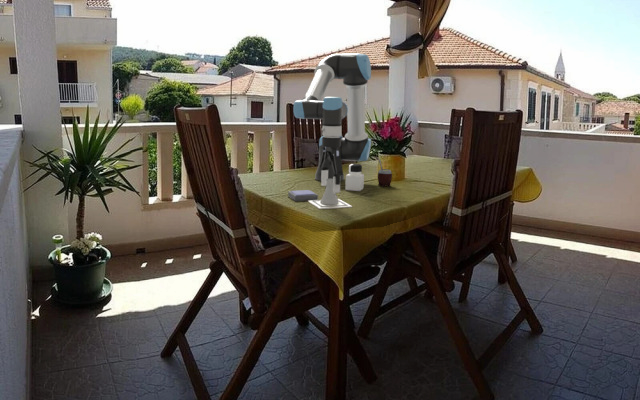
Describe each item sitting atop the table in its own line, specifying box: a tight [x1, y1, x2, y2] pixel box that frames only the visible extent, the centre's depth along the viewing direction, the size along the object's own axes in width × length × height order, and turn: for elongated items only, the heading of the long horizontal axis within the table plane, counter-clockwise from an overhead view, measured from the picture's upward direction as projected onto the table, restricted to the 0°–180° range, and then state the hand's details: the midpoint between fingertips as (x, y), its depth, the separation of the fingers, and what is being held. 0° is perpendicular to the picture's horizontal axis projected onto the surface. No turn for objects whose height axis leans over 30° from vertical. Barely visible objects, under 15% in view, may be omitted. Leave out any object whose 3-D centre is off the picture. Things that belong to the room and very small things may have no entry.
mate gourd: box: [376, 156, 393, 188], centre depth 242 cm, size 8×8×15 cm
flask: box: [320, 179, 339, 205], centre depth 199 cm, size 7×7×10 cm
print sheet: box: [307, 198, 353, 210], centre depth 200 cm, size 14×14×1 cm
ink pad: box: [287, 189, 319, 202], centre depth 211 cm, size 10×10×2 cm
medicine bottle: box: [344, 163, 365, 192], centre depth 232 cm, size 7×7×12 cm
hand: (330, 189), depth 199 cm, fingers open, 13 cm apart
